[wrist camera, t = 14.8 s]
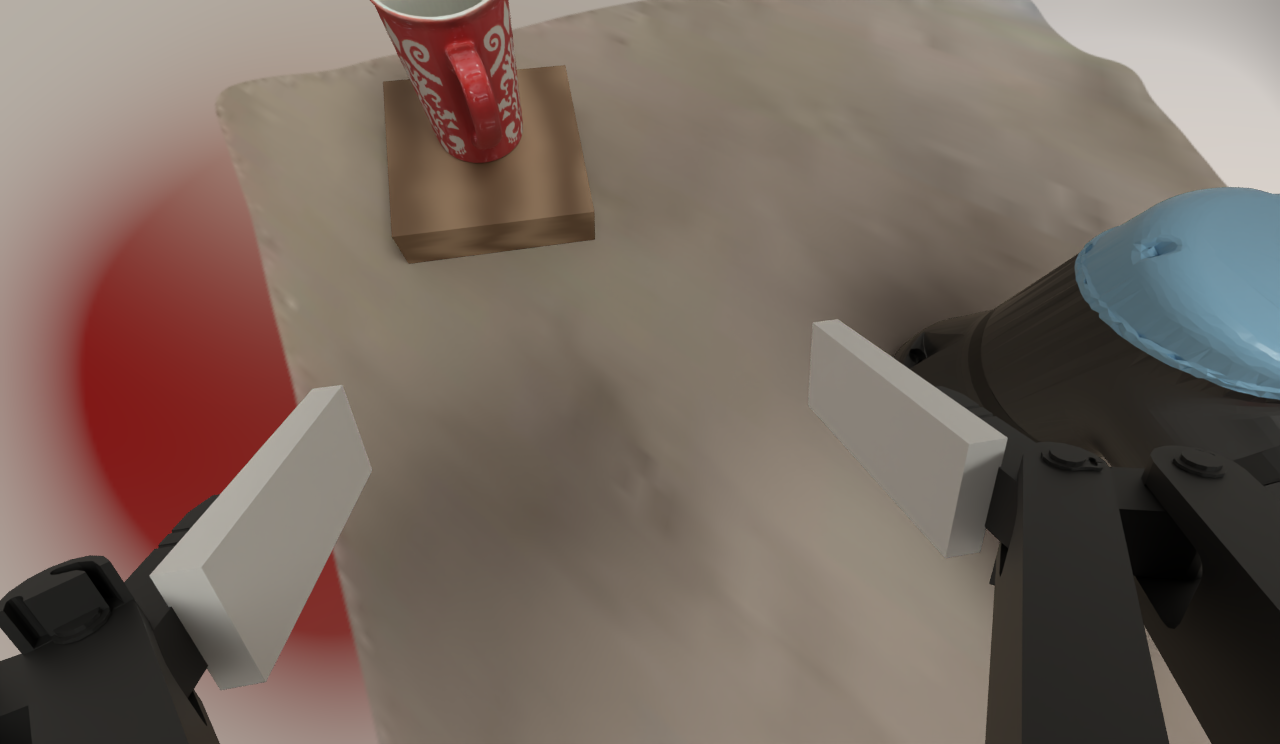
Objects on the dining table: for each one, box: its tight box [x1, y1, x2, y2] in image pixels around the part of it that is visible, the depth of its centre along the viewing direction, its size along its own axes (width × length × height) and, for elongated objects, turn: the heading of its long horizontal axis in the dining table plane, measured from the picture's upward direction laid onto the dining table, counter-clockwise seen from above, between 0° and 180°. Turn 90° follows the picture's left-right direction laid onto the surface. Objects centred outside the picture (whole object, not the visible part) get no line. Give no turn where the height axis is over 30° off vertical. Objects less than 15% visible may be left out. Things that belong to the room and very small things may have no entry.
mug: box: [370, 0, 523, 163], centre depth 40 cm, size 13×9×14 cm
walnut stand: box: [383, 65, 595, 264], centre depth 49 cm, size 16×16×4 cm
